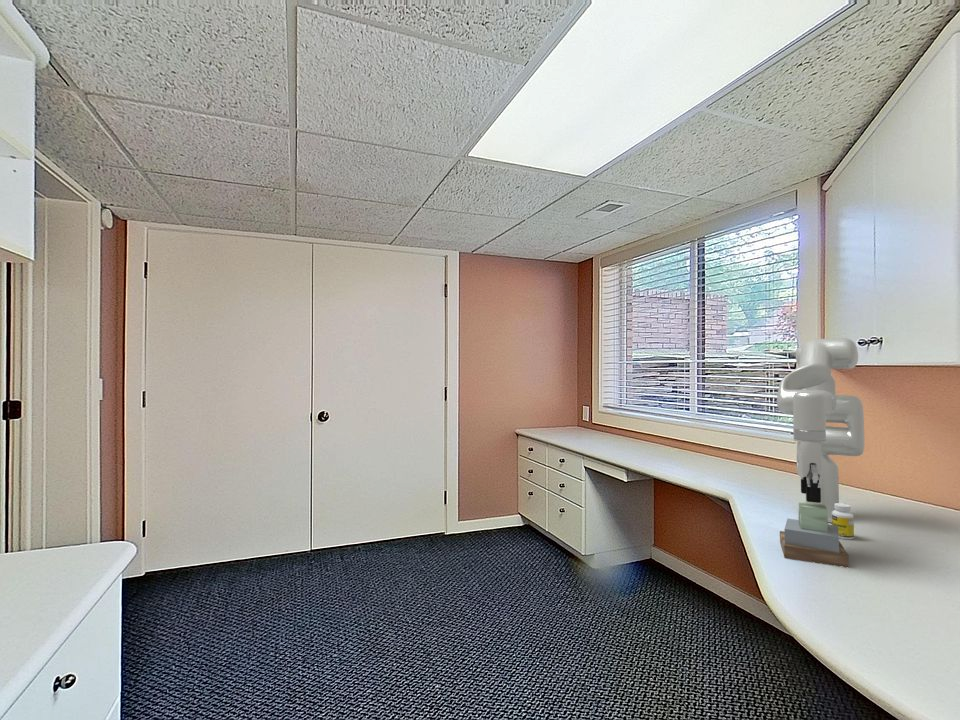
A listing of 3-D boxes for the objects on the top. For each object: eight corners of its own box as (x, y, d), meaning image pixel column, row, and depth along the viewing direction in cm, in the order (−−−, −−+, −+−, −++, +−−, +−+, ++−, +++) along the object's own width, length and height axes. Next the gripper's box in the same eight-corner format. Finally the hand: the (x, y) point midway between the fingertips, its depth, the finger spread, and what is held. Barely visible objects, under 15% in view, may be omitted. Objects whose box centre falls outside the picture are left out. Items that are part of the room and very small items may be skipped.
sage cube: (798, 522, 139) (798, 501, 140) (824, 526, 137) (824, 504, 137) (800, 528, 134) (801, 506, 134) (827, 532, 131) (827, 509, 131)
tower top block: (787, 532, 144) (787, 518, 144) (838, 540, 137) (838, 525, 137) (784, 543, 134) (784, 528, 134) (839, 552, 127) (838, 537, 127)
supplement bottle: (827, 535, 151) (827, 503, 151) (839, 533, 153) (839, 501, 153) (846, 540, 146) (845, 507, 146) (858, 538, 148) (857, 506, 148)
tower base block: (780, 544, 145) (779, 530, 145) (837, 552, 138) (837, 538, 139) (784, 560, 132) (784, 545, 132) (848, 570, 126) (848, 554, 126)
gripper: (789, 431, 146) (790, 489, 146) (797, 439, 130) (799, 504, 130) (820, 433, 143) (821, 492, 142) (832, 441, 127) (833, 507, 127)
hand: (810, 497), depth 136 cm, fingers open, 9 cm apart
